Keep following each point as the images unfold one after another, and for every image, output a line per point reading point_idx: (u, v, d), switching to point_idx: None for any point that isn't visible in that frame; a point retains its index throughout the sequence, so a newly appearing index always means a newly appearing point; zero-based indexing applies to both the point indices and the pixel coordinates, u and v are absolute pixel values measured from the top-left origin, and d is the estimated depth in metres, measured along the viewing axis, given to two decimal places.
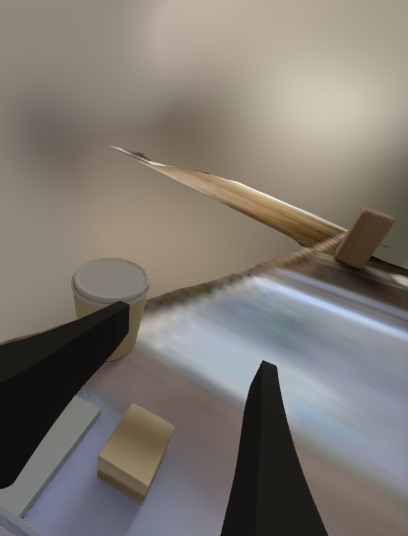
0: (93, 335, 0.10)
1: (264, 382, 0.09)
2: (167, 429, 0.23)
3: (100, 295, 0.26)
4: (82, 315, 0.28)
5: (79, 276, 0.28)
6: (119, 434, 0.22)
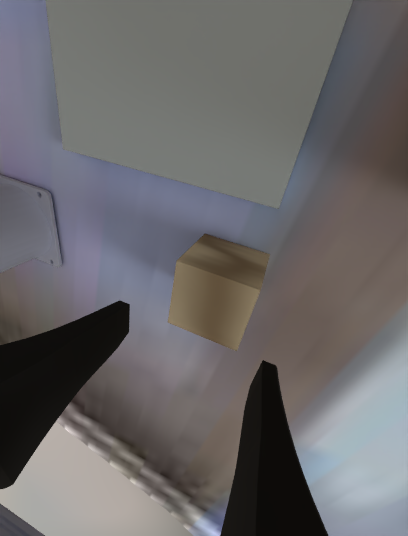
0: (93, 335, 0.10)
1: (264, 382, 0.09)
2: (230, 341, 0.15)
3: None
4: None
5: None
6: (206, 281, 0.14)
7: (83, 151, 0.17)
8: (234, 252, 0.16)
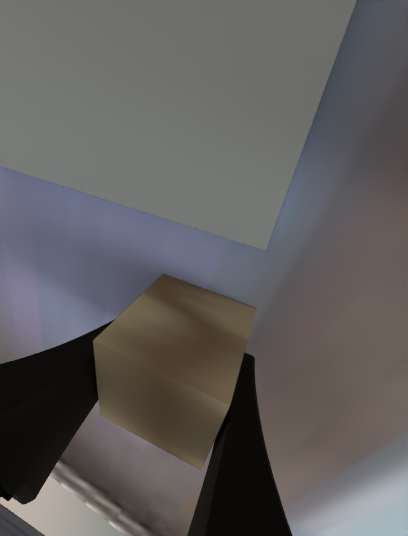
0: None
1: (239, 371, 0.10)
2: (189, 457, 0.09)
3: None
4: None
5: None
6: (142, 376, 0.08)
7: None
8: (200, 309, 0.10)
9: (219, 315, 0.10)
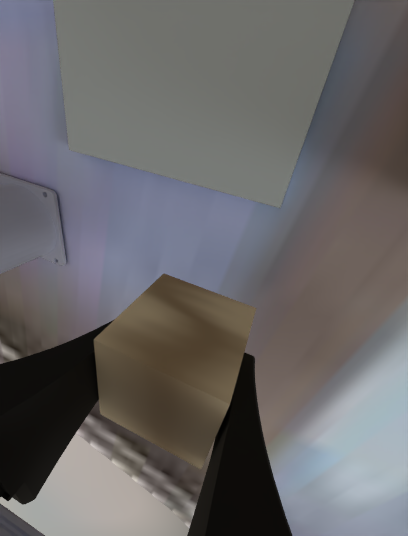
0: None
1: (239, 371, 0.10)
2: (189, 456, 0.09)
3: None
4: None
5: None
6: (143, 374, 0.08)
7: (89, 152, 0.17)
8: (200, 309, 0.10)
9: (219, 315, 0.10)
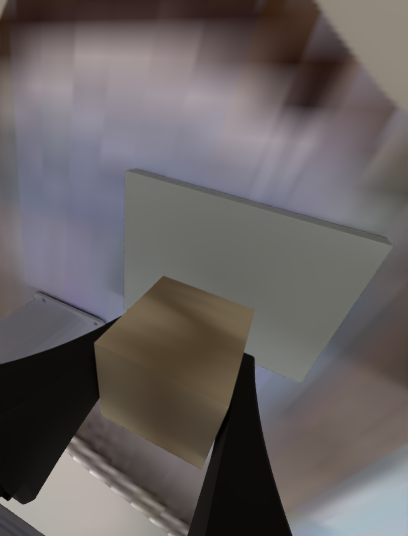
0: None
1: (239, 371, 0.10)
2: (190, 456, 0.10)
3: None
4: None
5: None
6: (143, 377, 0.08)
7: None
8: (199, 311, 0.11)
9: (218, 317, 0.10)
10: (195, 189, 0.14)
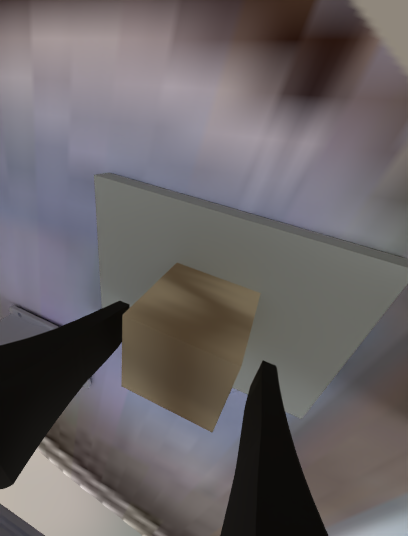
0: (93, 335, 0.10)
1: (264, 382, 0.09)
2: (202, 420, 0.11)
3: None
4: None
5: None
6: (165, 345, 0.09)
7: None
8: (211, 292, 0.12)
9: (228, 297, 0.12)
10: (175, 197, 0.12)
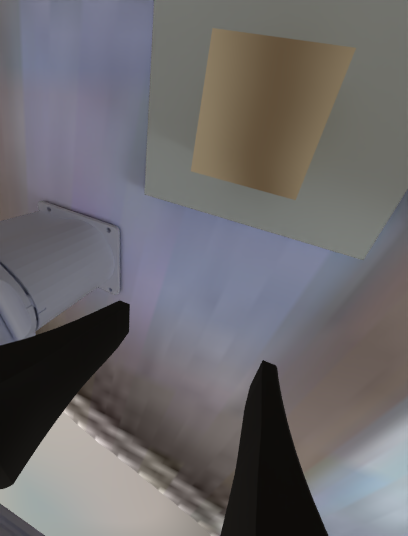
0: (93, 335, 0.10)
1: (264, 382, 0.09)
2: (286, 183, 0.10)
3: None
4: None
5: None
6: (260, 58, 0.09)
7: (165, 197, 0.18)
8: None
9: None
10: None
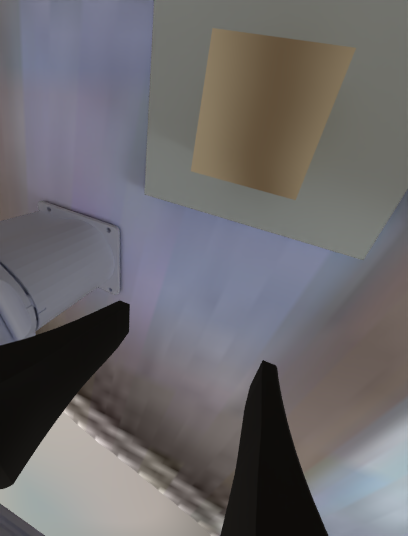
0: (93, 335, 0.10)
1: (264, 382, 0.09)
2: (286, 183, 0.10)
3: None
4: None
5: None
6: (260, 58, 0.09)
7: (165, 197, 0.18)
8: None
9: None
10: None
